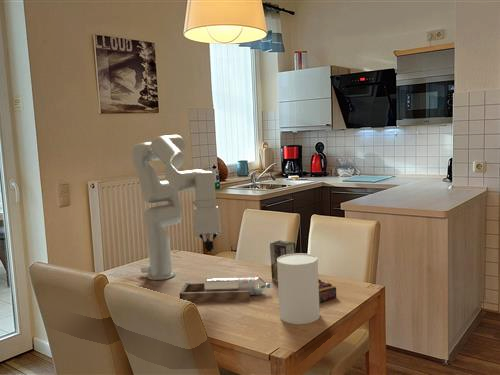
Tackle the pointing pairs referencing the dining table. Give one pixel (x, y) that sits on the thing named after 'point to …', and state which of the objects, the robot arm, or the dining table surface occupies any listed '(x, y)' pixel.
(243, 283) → the water bottle
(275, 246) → the coffee box
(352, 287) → the dining table surface
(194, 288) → the bottle rest
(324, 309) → the dining table surface
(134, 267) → the dining table surface
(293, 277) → the canister
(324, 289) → the decorative book
